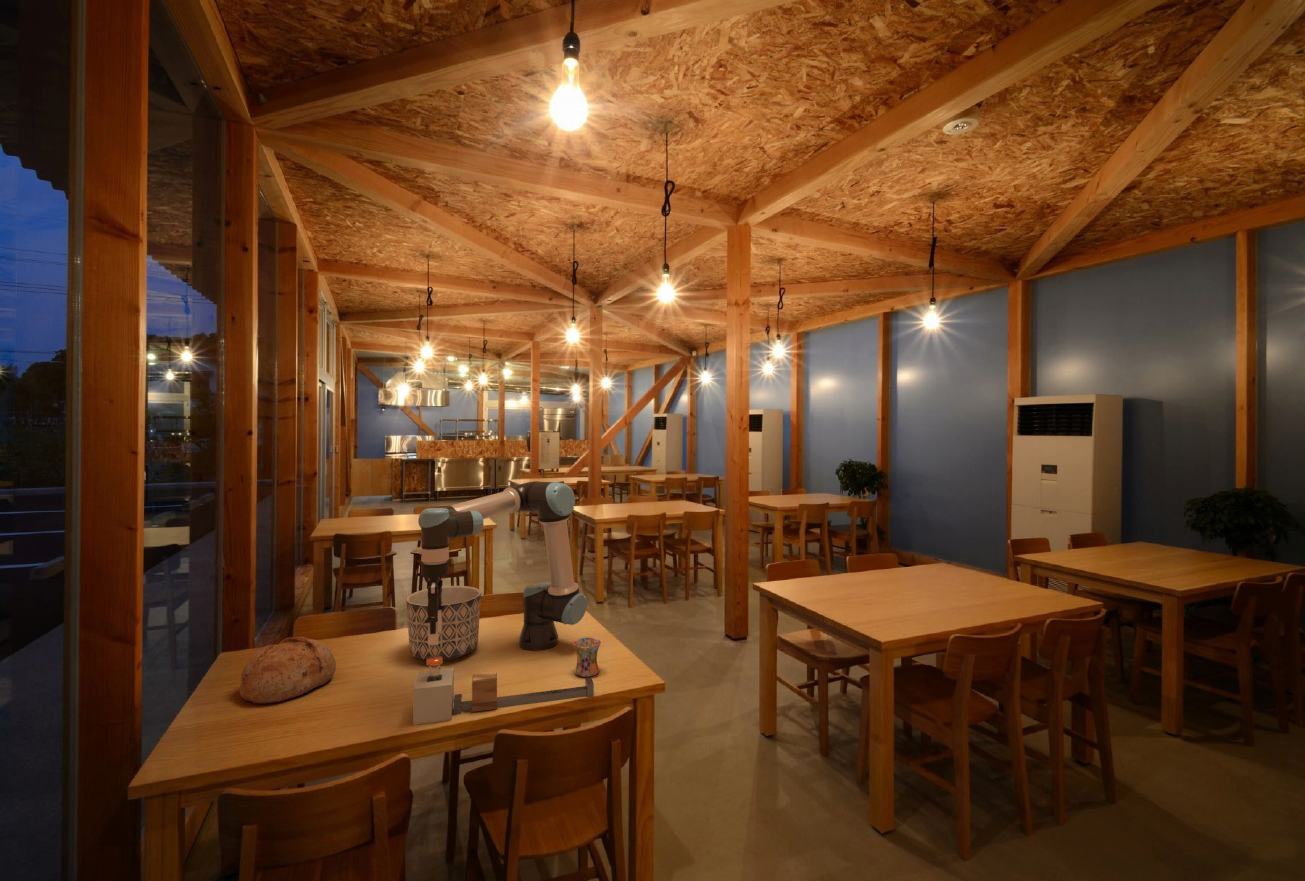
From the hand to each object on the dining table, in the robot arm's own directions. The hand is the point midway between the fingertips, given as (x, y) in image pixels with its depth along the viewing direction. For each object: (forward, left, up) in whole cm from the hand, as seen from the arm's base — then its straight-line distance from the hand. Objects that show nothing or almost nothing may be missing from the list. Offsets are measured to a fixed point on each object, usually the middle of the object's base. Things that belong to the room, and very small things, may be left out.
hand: (434, 638), depth 162 cm
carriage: (+1, +14, -22) cm, 26 cm away
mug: (-16, +47, -22) cm, 54 cm away
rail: (+1, +26, -22) cm, 34 cm away
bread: (-31, -47, -22) cm, 60 cm away
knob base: (0, 0, -22) cm, 22 cm away
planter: (-46, -1, -22) cm, 51 cm away
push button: (0, 0, -12) cm, 12 cm away
